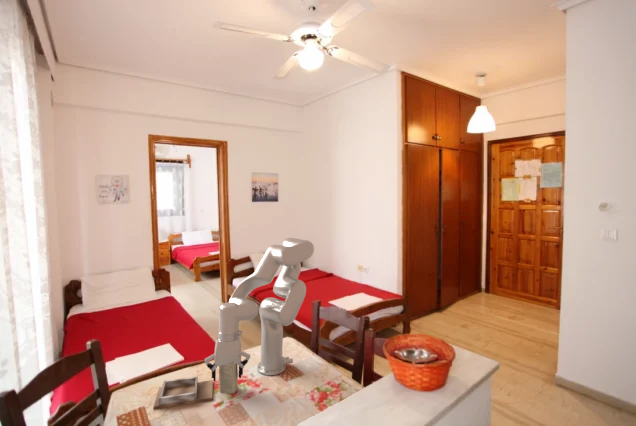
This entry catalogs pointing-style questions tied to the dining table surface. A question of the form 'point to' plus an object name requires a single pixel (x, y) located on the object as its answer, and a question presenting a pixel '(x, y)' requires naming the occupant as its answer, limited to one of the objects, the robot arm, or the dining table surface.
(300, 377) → the dining table surface
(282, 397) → the dining table surface
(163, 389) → the box stand
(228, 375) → the skincare box
